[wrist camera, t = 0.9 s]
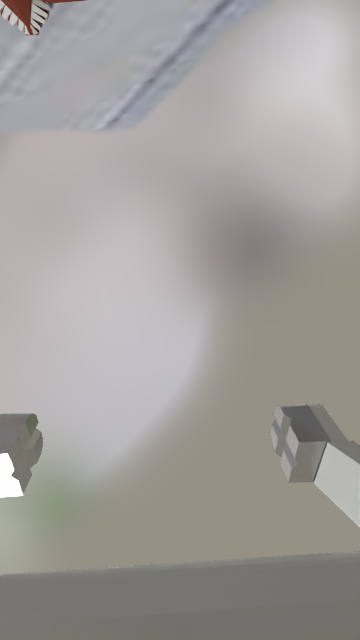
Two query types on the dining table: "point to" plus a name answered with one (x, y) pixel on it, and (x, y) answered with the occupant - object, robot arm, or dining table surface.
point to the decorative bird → (27, 13)
